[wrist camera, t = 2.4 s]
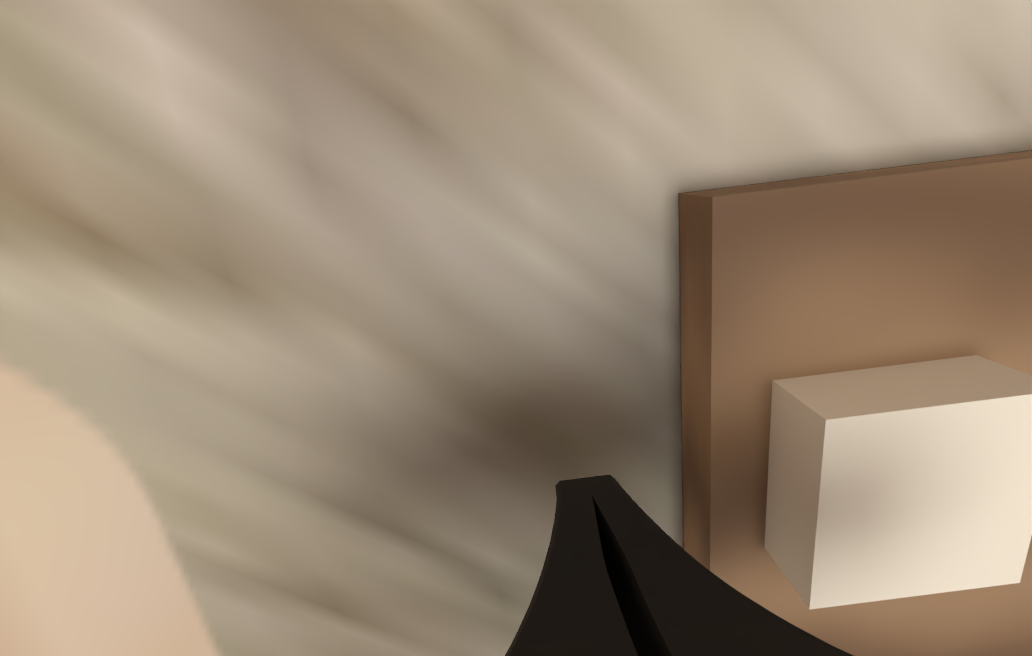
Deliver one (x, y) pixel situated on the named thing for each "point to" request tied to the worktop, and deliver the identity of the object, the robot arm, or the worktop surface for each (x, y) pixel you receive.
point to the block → (900, 480)
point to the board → (845, 357)
